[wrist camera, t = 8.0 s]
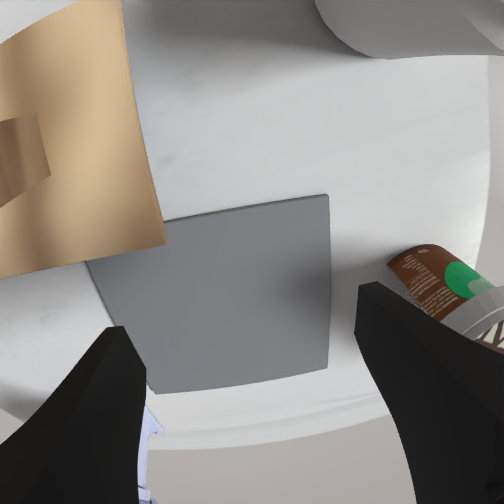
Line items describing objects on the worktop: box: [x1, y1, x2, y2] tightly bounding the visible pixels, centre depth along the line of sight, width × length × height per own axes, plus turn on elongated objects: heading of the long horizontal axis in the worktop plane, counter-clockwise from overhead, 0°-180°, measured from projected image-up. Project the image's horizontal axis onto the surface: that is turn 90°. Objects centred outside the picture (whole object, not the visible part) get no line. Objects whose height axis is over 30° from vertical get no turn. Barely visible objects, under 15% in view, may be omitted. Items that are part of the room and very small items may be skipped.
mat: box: [86, 194, 330, 394], centre depth 22 cm, size 16×16×1 cm
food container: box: [387, 244, 504, 355], centre depth 18 cm, size 12×6×10 cm, turn 45°
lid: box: [0, 0, 168, 279], centre depth 9 cm, size 12×12×5 cm
